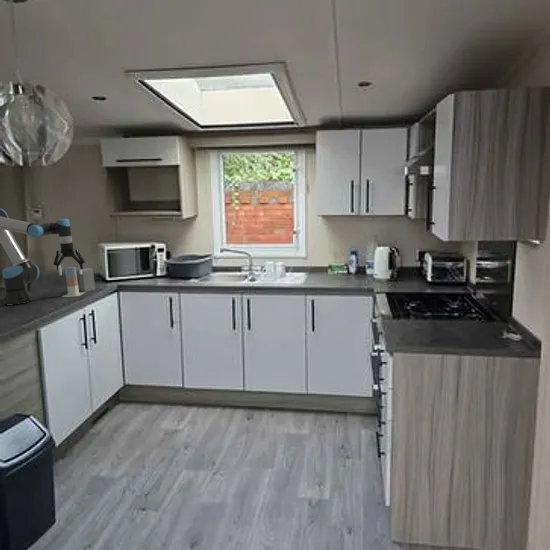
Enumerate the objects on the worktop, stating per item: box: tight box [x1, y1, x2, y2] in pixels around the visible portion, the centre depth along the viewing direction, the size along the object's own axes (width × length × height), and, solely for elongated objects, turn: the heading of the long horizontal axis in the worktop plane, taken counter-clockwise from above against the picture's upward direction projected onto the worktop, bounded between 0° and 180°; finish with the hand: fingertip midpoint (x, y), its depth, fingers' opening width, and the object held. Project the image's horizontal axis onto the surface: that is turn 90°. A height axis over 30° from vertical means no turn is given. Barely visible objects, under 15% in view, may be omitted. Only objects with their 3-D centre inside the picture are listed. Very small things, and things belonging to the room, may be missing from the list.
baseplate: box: [61, 291, 87, 298], centre depth 321 cm, size 12×12×1 cm
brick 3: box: [66, 284, 80, 295], centre depth 320 cm, size 5×5×6 cm
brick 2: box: [65, 275, 79, 288], centre depth 319 cm, size 5×5×6 cm
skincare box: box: [77, 267, 96, 292], centre depth 332 cm, size 8×7×16 cm
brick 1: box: [64, 266, 78, 279], centre depth 318 cm, size 5×5×6 cm
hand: (70, 274), depth 318 cm, fingers open, 13 cm apart
